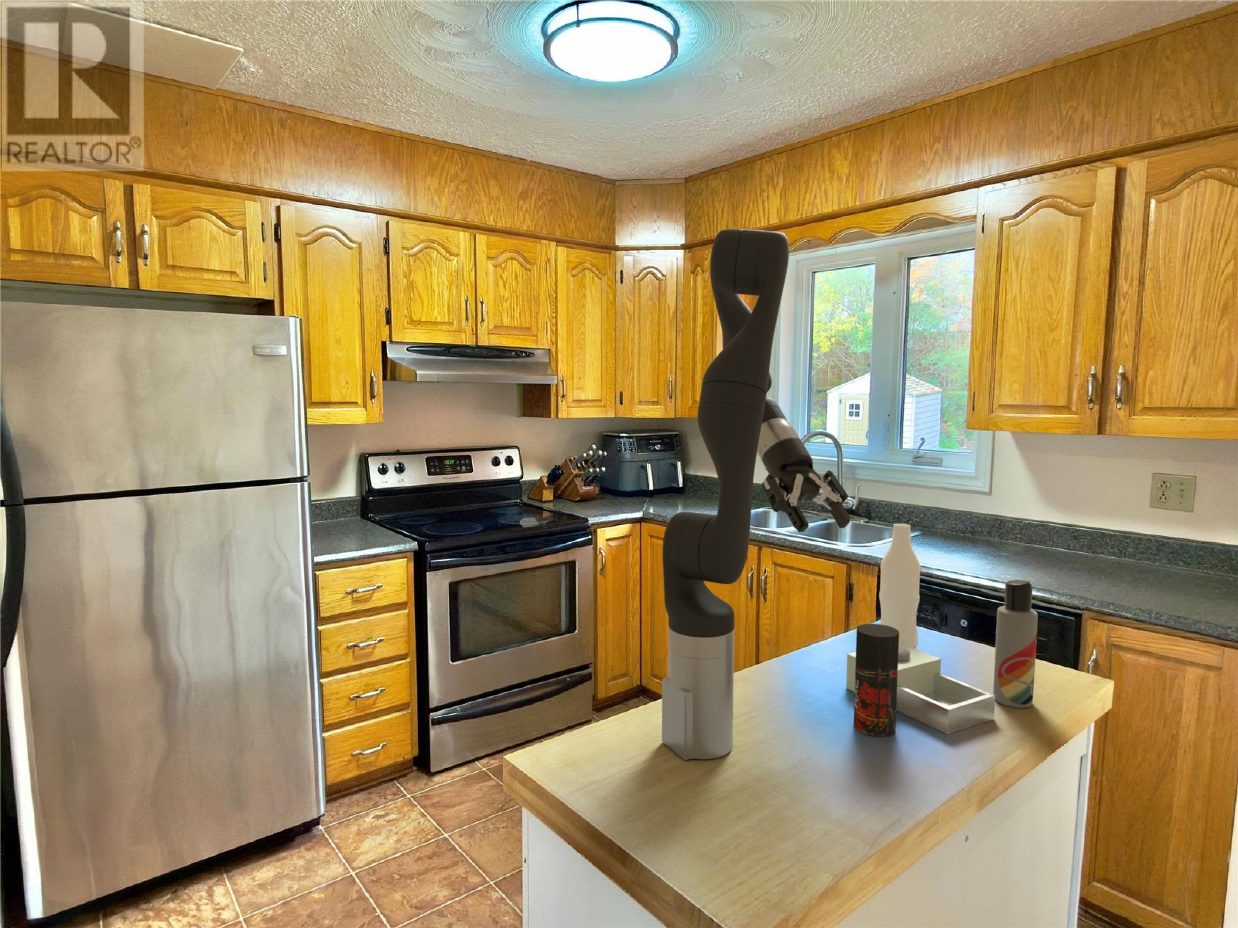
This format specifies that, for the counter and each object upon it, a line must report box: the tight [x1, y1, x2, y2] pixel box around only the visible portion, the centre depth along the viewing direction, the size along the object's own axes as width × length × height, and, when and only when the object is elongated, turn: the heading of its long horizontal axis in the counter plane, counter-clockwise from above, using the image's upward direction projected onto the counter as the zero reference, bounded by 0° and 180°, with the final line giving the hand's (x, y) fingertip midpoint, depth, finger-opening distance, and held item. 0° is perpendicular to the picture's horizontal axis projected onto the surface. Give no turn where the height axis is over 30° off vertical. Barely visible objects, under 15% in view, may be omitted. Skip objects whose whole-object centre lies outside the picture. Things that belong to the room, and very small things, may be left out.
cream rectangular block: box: [845, 643, 942, 694], centre depth 120 cm, size 12×9×7 cm
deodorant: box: [853, 623, 899, 738], centre depth 106 cm, size 6×6×15 cm
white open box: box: [896, 673, 996, 735], centre depth 111 cm, size 11×10×4 cm
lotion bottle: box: [992, 579, 1039, 709], centre depth 115 cm, size 6×6×20 cm
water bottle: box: [878, 523, 922, 650], centre depth 136 cm, size 7×7×25 cm
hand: (825, 527), depth 114 cm, fingers open, 8 cm apart
